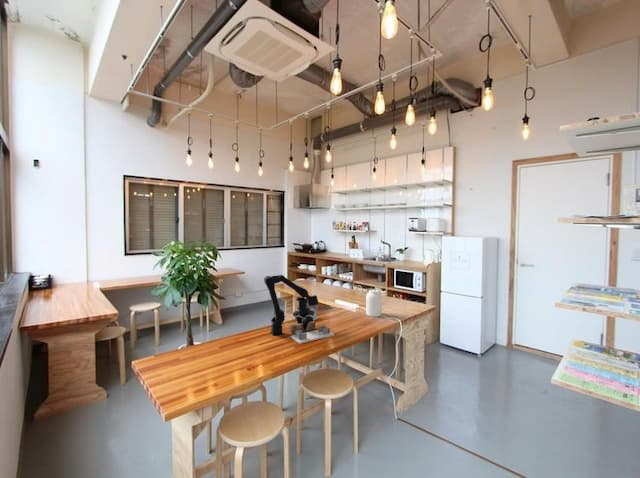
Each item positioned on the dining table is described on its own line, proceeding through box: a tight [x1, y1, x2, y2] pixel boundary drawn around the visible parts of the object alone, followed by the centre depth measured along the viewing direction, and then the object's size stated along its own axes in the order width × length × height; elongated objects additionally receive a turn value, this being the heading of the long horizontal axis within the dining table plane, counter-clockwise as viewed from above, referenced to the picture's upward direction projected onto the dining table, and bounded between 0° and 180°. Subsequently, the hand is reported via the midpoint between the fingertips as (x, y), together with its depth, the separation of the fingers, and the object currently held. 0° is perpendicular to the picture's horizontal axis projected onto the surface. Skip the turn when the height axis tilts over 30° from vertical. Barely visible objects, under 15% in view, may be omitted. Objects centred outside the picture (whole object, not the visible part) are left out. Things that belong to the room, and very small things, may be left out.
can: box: [365, 289, 383, 318], centre depth 246 cm, size 12×12×20 cm
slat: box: [289, 320, 316, 334], centre depth 209 cm, size 18×3×5 cm, turn 119°
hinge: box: [302, 307, 319, 321], centre depth 232 cm, size 17×5×10 cm, turn 133°
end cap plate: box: [290, 324, 335, 345], centre depth 198 cm, size 26×12×4 cm, turn 123°
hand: (302, 328), depth 209 cm, fingers open, 6 cm apart
